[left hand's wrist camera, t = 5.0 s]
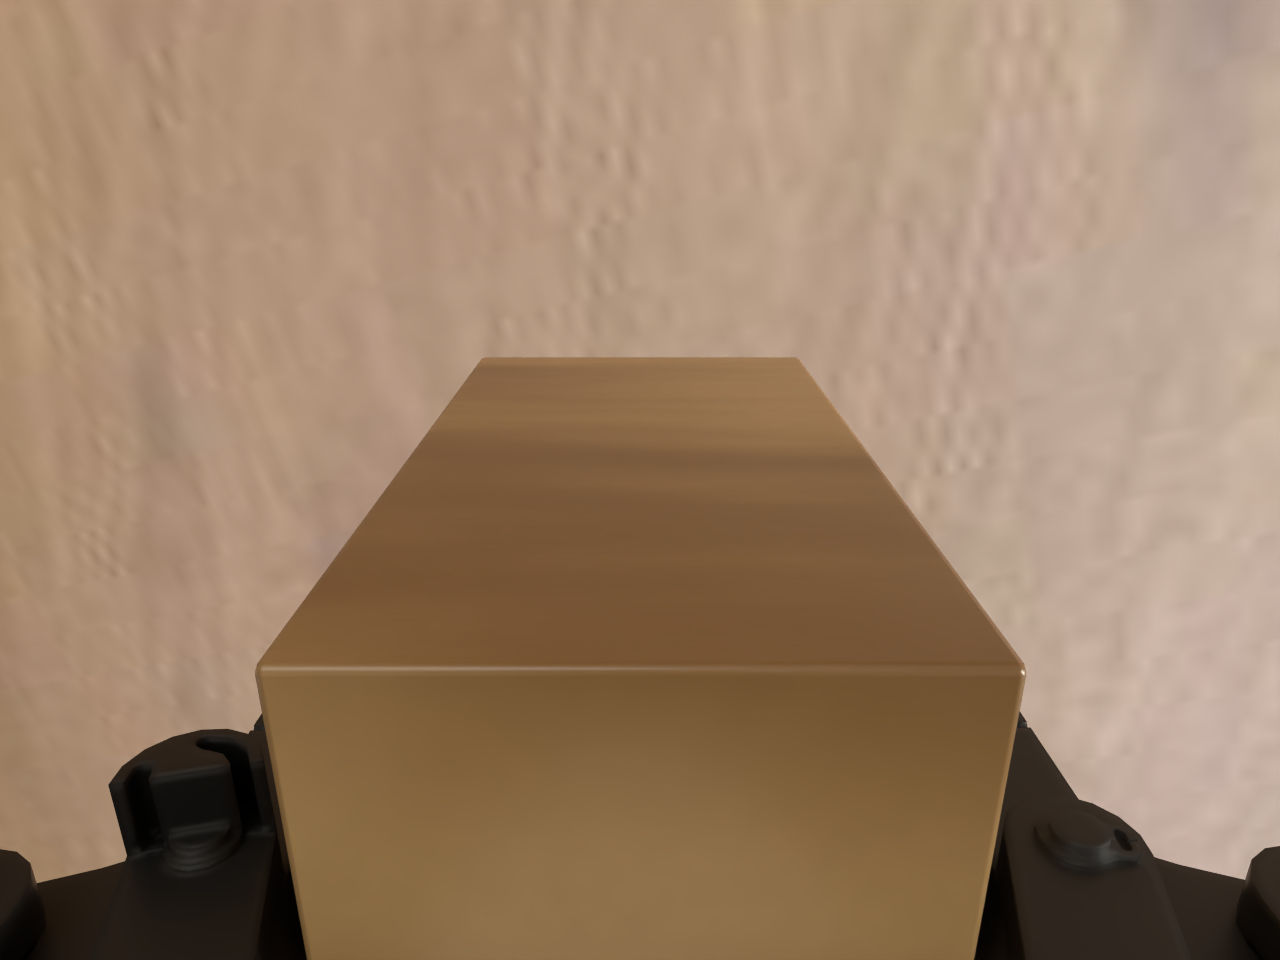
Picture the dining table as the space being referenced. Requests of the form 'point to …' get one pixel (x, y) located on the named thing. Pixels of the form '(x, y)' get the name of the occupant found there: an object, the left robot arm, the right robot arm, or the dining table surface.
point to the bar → (640, 687)
